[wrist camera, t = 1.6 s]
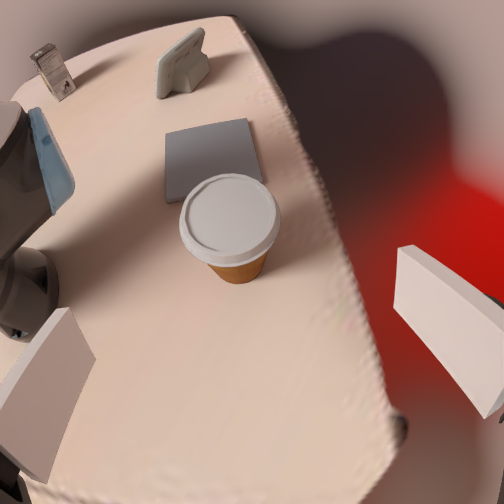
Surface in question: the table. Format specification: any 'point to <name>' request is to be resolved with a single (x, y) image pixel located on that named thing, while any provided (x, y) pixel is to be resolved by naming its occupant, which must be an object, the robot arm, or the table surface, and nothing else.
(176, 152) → the charcoal tile
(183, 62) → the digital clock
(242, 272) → the disposable coffee cup
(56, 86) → the printed cardboard box
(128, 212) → the table surface
